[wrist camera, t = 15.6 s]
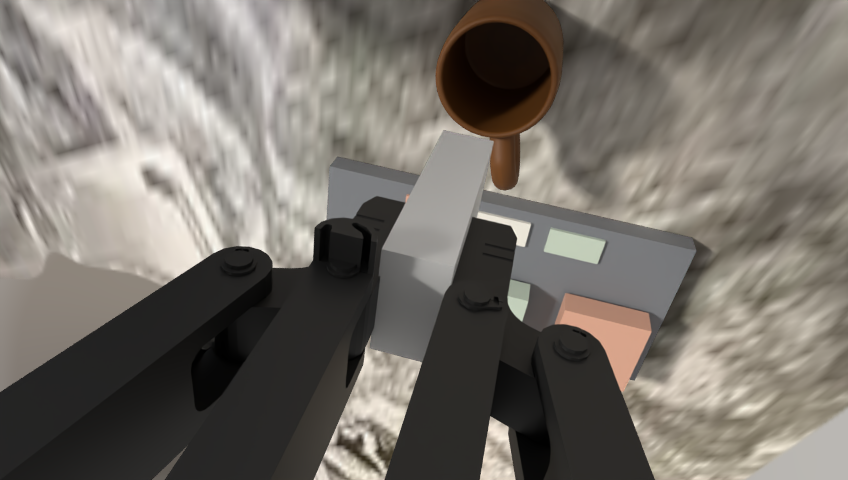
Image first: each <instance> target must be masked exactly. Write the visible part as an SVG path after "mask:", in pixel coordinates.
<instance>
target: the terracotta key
mask: <svg viewBox="0 0 848 480" xmlns="http://www.w3.org/2000/svg"><path fill="white" fill-rule="evenodd" d="M555 324H567V325H571V326H576V327H579V328H581V329H583V330H585V331H587V332H589V333H590V334H592V335H593V336H594V337H595V338H596V339H598V340H599V341H600V343H601V344H602V346H603V348H604V349H605V351H606V354H607V356H608V359H609V361H610V364H611V367H612V369H613V372H614V374H615V377H616V380H617V382H618V385H619V388H620V390H621V391H623V392H624V389H625V387H626V385H627V383H628V381H629V379H630V377H631V375H632V372H633V370H634V368H635V366H636V364H637V362H638V360H639V358H640V355H641V353H642V351H643V349H644V347H645V345H646V343H647V341H648V338H649V336H650V334H651V332H652V331H651V324H650V318H649V313H646V312H642V311H638V310H634V309H630V308H626V307H622V306H617V305H613V304H609V303H605V302H601V301H597V300H593V299H589V298H585V297H580V296H576V295H572V294H568V293H565V295H564V298H563V301H562V304H561V307H560V310H559V313H558V316H557V318H556V321H555Z"/></svg>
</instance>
